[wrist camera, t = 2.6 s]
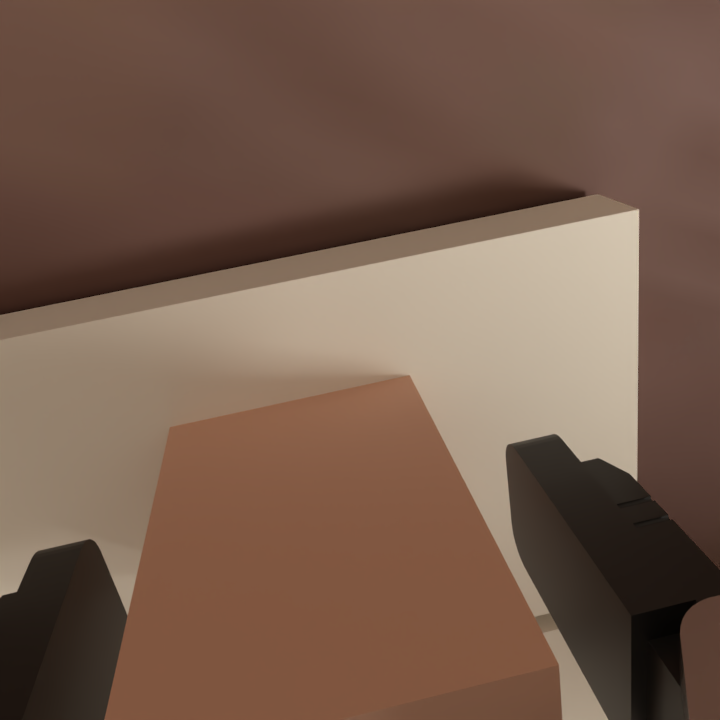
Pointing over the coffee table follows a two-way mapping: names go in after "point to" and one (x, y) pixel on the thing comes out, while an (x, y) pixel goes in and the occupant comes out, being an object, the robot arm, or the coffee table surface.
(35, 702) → the robot arm
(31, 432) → the block on cream base
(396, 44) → the coffee table surface
